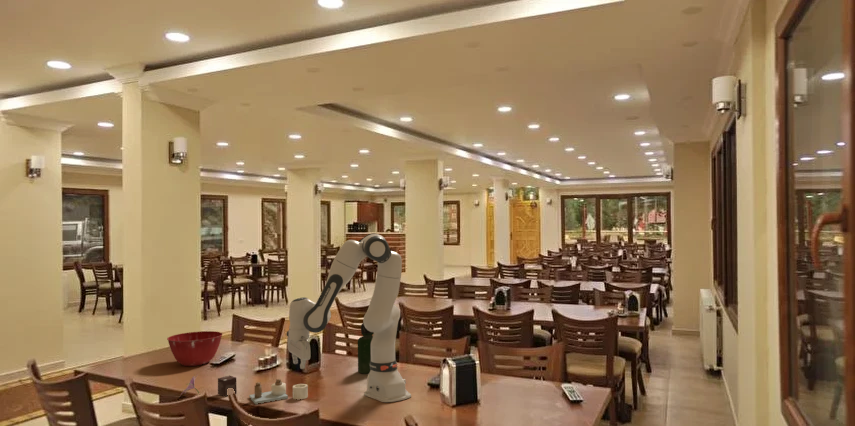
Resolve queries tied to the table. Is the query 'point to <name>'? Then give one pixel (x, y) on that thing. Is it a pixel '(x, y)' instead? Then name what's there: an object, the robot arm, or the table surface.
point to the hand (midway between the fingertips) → (298, 366)
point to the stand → (269, 393)
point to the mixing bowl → (195, 347)
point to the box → (226, 384)
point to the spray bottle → (364, 350)
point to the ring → (300, 391)
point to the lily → (190, 385)
